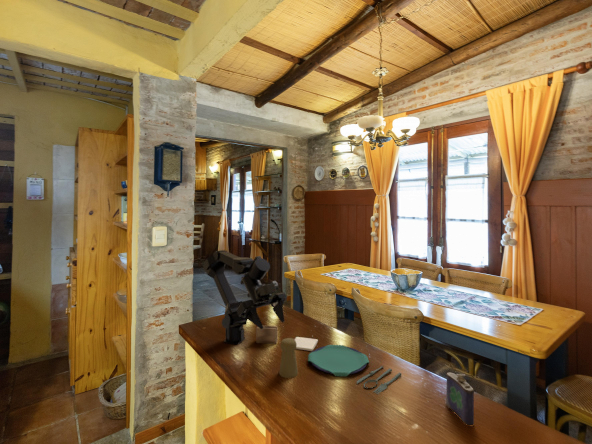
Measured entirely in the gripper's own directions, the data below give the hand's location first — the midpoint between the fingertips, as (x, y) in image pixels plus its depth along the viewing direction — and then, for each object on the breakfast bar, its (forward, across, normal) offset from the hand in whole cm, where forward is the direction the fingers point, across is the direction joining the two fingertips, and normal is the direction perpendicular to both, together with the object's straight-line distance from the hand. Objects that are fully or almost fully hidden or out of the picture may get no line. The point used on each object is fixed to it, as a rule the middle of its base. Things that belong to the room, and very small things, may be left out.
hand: (273, 325), depth 106 cm
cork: (+15, 0, +4) cm, 16 cm away
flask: (+47, +19, -28) cm, 58 cm away
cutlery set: (+24, +17, -4) cm, 30 cm away
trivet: (+7, +18, +12) cm, 23 cm away
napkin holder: (-2, +9, +21) cm, 23 cm away
